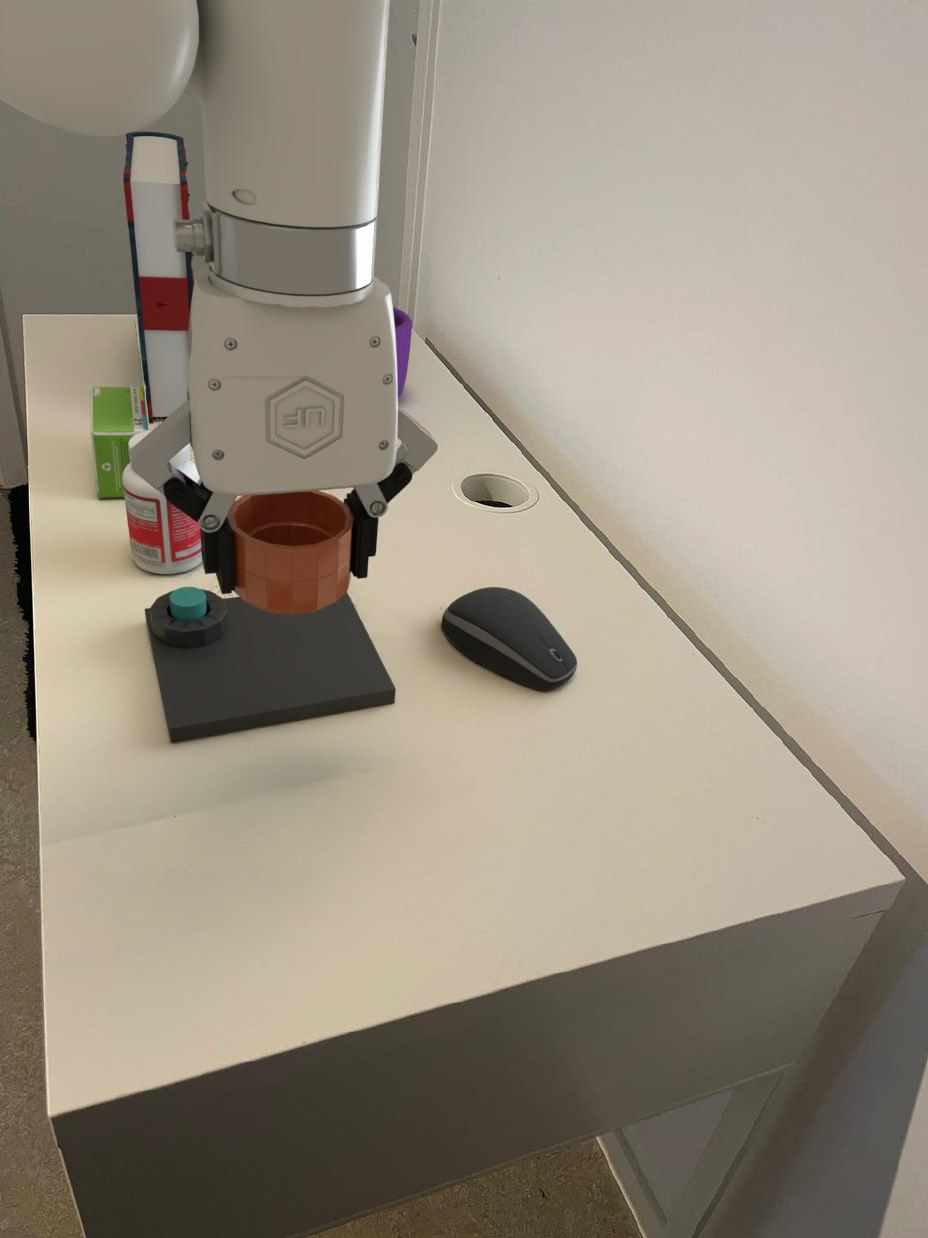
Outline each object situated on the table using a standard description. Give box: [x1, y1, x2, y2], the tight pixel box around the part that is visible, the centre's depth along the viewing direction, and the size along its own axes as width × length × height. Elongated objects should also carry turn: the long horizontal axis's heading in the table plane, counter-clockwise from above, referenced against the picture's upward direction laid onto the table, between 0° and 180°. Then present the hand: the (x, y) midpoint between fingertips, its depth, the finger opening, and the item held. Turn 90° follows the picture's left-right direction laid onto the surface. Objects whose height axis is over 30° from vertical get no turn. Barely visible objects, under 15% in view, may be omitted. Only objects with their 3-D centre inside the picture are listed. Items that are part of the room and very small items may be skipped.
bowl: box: [227, 490, 354, 615], centre depth 51 cm, size 7×7×5 cm
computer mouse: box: [441, 586, 578, 691], centre depth 73 cm, size 7×12×4 cm, turn 49°
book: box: [122, 131, 195, 424], centre depth 102 cm, size 25×7×25 cm, turn 15°
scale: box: [144, 588, 397, 744], centre depth 68 cm, size 16×14×3 cm
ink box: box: [89, 317, 151, 500], centre depth 85 cm, size 10×5×14 cm, turn 18°
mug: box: [393, 306, 413, 400], centre depth 111 cm, size 17×11×10 cm, turn 24°
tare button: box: [170, 586, 207, 622], centre depth 68 cm, size 3×3×2 cm
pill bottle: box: [122, 429, 203, 575], centre depth 75 cm, size 6×6×11 cm
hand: (290, 570), depth 52 cm, fingers closed on bowl, 6 cm apart
